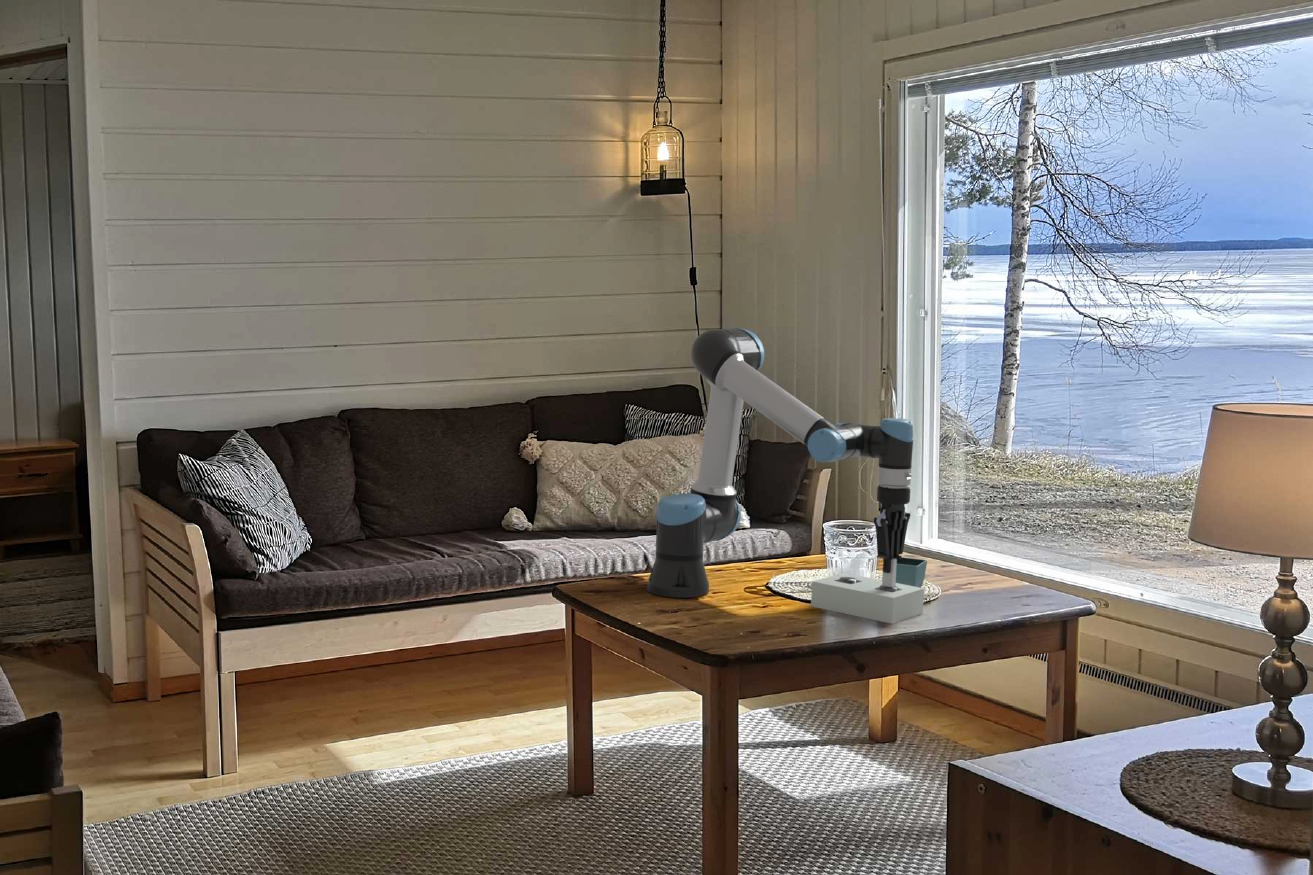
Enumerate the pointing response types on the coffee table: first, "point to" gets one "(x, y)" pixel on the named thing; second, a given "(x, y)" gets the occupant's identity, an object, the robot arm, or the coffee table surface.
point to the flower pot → (910, 571)
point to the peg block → (867, 598)
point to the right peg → (888, 588)
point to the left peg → (847, 580)
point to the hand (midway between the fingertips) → (888, 585)
